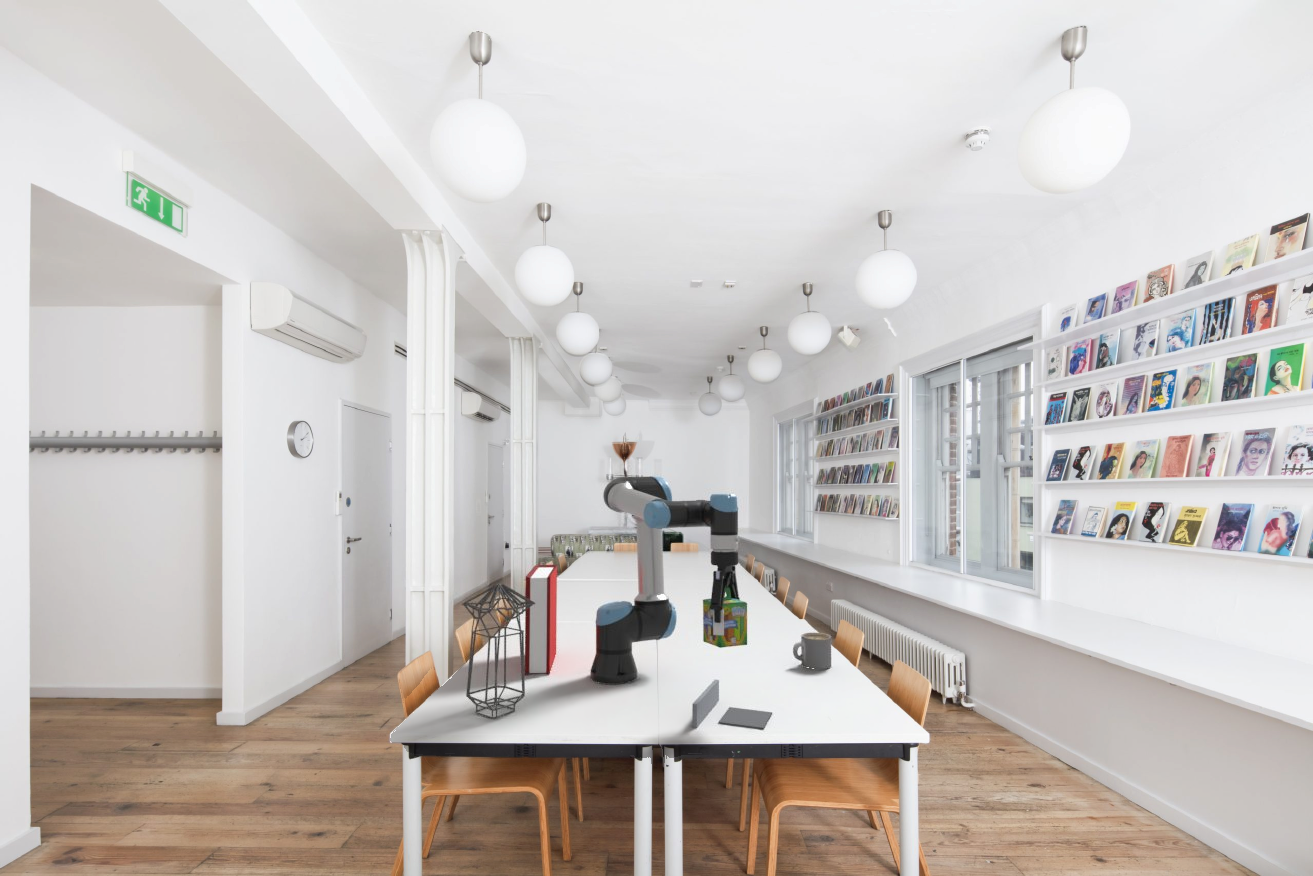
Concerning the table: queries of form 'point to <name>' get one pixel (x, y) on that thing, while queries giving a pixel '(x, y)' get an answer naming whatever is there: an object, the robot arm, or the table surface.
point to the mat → (745, 718)
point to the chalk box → (726, 623)
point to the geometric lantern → (504, 591)
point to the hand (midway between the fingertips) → (725, 629)
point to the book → (541, 619)
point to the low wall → (705, 703)
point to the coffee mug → (814, 650)
